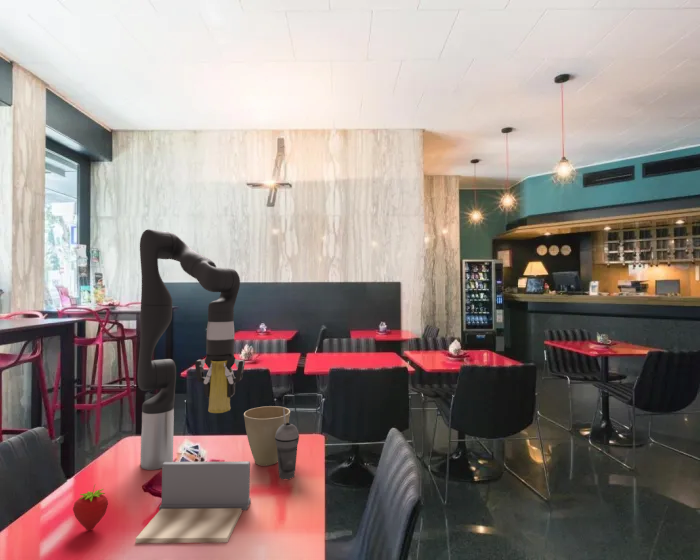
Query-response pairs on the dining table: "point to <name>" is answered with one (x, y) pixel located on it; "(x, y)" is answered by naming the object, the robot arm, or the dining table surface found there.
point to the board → (190, 526)
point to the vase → (218, 388)
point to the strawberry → (90, 508)
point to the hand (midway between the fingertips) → (219, 396)
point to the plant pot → (264, 432)
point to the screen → (205, 485)
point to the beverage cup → (286, 449)
